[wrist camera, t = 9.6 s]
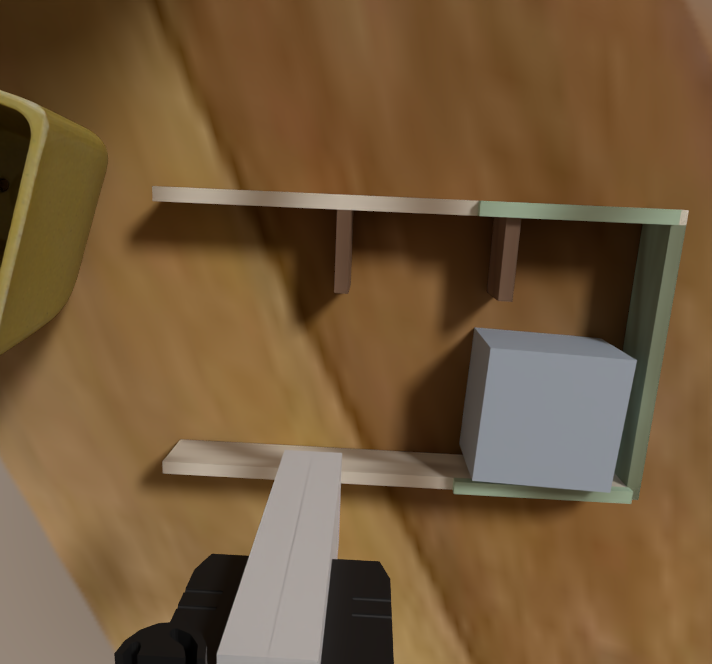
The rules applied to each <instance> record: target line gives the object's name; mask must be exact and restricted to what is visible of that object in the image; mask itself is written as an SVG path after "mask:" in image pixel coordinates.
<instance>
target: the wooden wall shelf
mask: <svg viewBox="0 0 712 664" xmlns="http://www.w3.org/2000/svg"><path fill="white" fill-rule="evenodd" d="M152 193H153V201H164V202H186V203H207V204H229V205H251V206H273V207H295V208H317V209H337V227H336V255H335V283H334V293H345V294H348V292H349V289H350V285H351V262H352V238H353V214H354V210H361V211H383V212H405V213H427V214H449V215H470V216H489V217H494V223H493V233H492V243H491V254H490V264H489V274H488V284H487V292H488V293H489V294H490V295H491V296H493V297H494V298H495V299H496V300H498V301H509V302H512V300H513V291H514V282H515V273H516V264H517V254H518V245H519V236H520V227H521V218H533V219H555V220H576V221H598V222H620V223H642V224H643V225H642V231H641V237H640V244H639V250H638V256H637V263H636V269H635V275H634V282H633V288H632V295H631V301H630V307H629V314H628V320H627V326H626V333H625V339H624V346H623V352H624V353H626V354H627V355H629V356H631V357H632V358H634V359H636V360H637V363H636V368H635V373H634V378H633V383H632V388H631V393H630V398H629V403H628V407H627V412H626V417H625V422H624V427H623V432H622V437H621V442H620V447H619V452H618V457H617V462H616V467H615V472H614V476H613V481H612V486H611V491H610V493H606V492H595V491H583V490H572V489H561V488H549V487H538V486H526V485H515V484H504V483H492V482H481V481H472V479H471V476H470V473H469V470H468V467H467V465H466V462H465V459H464V456H463V455H458V454H439V453H421V452H403V451H384V450H366V449H347V448H329V447H310V446H292V445H274V444H255V443H237V442H218V441H200V440H181V439H180V441H179V442H178V443H177V444H176V446H175V447H174V448H173V449H172V450H171V452H170V453H169V454H168V455H167V457H166V458H165V459H164V460H163V462H162V463H163V473H164V474H182V475H200V476H218V477H236V478H254V479H272V480H275V477H276V474H277V471H278V468H279V465H280V462H281V459H282V456H283V453H284V450H297V451H316V452H334V453H342V470H341V483H344V484H362V485H380V486H398V487H416V488H434V489H452V490H453V493H454V494H464V495H482V496H500V497H518V498H536V499H554V500H572V501H590V502H608V503H626V504H631V501H632V500H638V498H639V492H640V487H641V481H642V475H643V469H644V464H645V458H646V452H647V447H648V441H649V435H650V429H651V424H652V418H653V412H654V406H655V401H656V395H657V389H658V383H659V378H660V372H661V366H662V361H663V355H664V349H665V343H666V338H667V332H668V326H669V320H670V315H671V309H672V303H673V297H674V292H675V286H676V280H677V274H678V269H679V263H680V257H681V252H682V246H683V240H684V234H685V229H686V223H687V217H688V211H689V210H672V209H650V208H628V207H606V206H583V205H561V204H539V203H517V202H495V201H470V200H448V199H426V198H404V197H382V196H360V195H337V194H315V193H293V192H271V191H249V190H226V189H204V188H182V187H160V186H152Z"/></svg>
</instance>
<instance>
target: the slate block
mask: <svg viewBox="0 0 712 664" xmlns="http://www.w3.org/2000/svg"><path fill="white" fill-rule="evenodd" d="M636 363H637V360H636V359H634V358H632V357H631V356H629V355H627V354H626V353H624V352H622V351H621V350H619V349H617V348H616V347H614V346H612V345H611V344H609V343H608V342H606V341H604V340H603V339H601V338H592V337H580V336H569V335H557V334H545V333H533V332H521V331H510V330H498V329H486V328H474V335H473V343H472V350H471V358H470V366H469V373H468V381H467V388H466V396H465V404H464V411H463V419H462V426H461V434H460V442H459V445H460V448H461V450H462V453H463V456H464V459H465V462H466V465H467V467H468V470H469V473H470V476H471V479H472V481H481V482H492V483H504V484H515V485H526V486H538V487H549V488H561V489H572V490H583V491H595V492H606V493H610V491H611V486H612V481H613V476H614V472H615V467H616V462H617V457H618V452H619V447H620V442H621V437H622V432H623V427H624V422H625V417H626V412H627V407H628V403H629V398H630V393H631V388H632V383H633V378H634V373H635V368H636Z"/></svg>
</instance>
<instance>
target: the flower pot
mask: <svg viewBox="0 0 712 664" xmlns="http://www.w3.org/2000/svg"><path fill="white" fill-rule="evenodd" d="M107 164H108V153H107V150H106V147H105V145H104V144H103V142H102V141H101V140H100V138H99V137H98V136H97V135H95V134H94V133H93V132H91V131H90V130H88V129H86V128H85V127H83V126H81V125H79V124H77V123H75V122H73V121H71V120H68V119H66V118H64V117H62V116H60V115H58V114H56V113H54V112H52V111H50V110H48V109H46V108H44V107H42V106H40V105H38V104H36V103H34V102H32V101H29V100H27V99H24V98H21V97H19V96H16V95H13V94H10V93H7V92H4V91H2V90H0V179H3V178H4V179H6V180H7V181H8V183H9V188H8V190H7V191H2V190H0V355H2V354H3V353H4V352H6V351H8V350H9V349H11V348H12V347H14V346H15V345H16V344H18V343H19V342H21V341H22V340H24V339H26V338H27V337H29V336H30V335H31V334H33V333H34V332H36V331H37V330H38V329H40V328H41V327H43V326H44V325H45V324H47V323H48V322H49V321H51V320H52V319H53V318H54V317H55V316H56V315H57V314H58V313H59V312H60V311H61V310H62V308H63V307H64V305H65V304H66V302H67V301H68V299H69V297H70V295H71V293H72V291H73V288H74V285H75V283H76V280H77V277H78V273H79V269H80V265H81V262H82V258H83V254H84V250H85V246H86V243H87V239H88V235H89V232H90V228H91V224H92V220H93V217H94V213H95V209H96V206H97V202H98V198H99V195H100V191H101V188H102V184H103V180H104V177H105V173H106V169H107Z"/></svg>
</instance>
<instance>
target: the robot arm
mask: <svg viewBox="0 0 712 664" xmlns="http://www.w3.org/2000/svg"><path fill="white" fill-rule="evenodd" d="M341 470H342V453H334V452H316V451H297V450H284V453H283V456H282V459H281V462H280V465H279V468H278V471H277V474H276V477H275V480H274V483H273V486H272V489H271V492H270V495H269V498H268V501H267V504H266V507H265V510H264V513H263V516H262V519H261V522H260V525H259V528H258V531H257V534H256V537H255V540H254V543H253V546H252V549H251V552H250V555H249V556H242V555H225V554H211V555H210V556H209V557H208V558H207V559H206V560H204V561H203V562H202V563H201V564H200V565H199V566H198V567H197V568H196V569H195V570H194V572H193V574H192V576H191V578H190V580H189V582H188V585H187V587H186V590H185V593H183V595H182V598H181V600H180V602H179V604H178V609H176V611H175V613H174V615H173V617H172V619H171V621H170V622H168V623H158V624H155V625H152V626H149V627H147V628H144V629H141V630H139V631H138V632H136V633H135V634H134V635H132V636H131V637H129V638H128V639H126V640H125V641H124V642H123V644H122V645H121V646H120V647H119V649H118V650H117V651H116V652H115V664H394V658H393V634H392V611H391V587H390V578H389V576H388V575H387V573H386V571H385V570H384V568H383V566H382V565H381V563H380V562H379V561H361V560H343V559H337V555H338V544H339V519H340V495H341Z"/></svg>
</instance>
